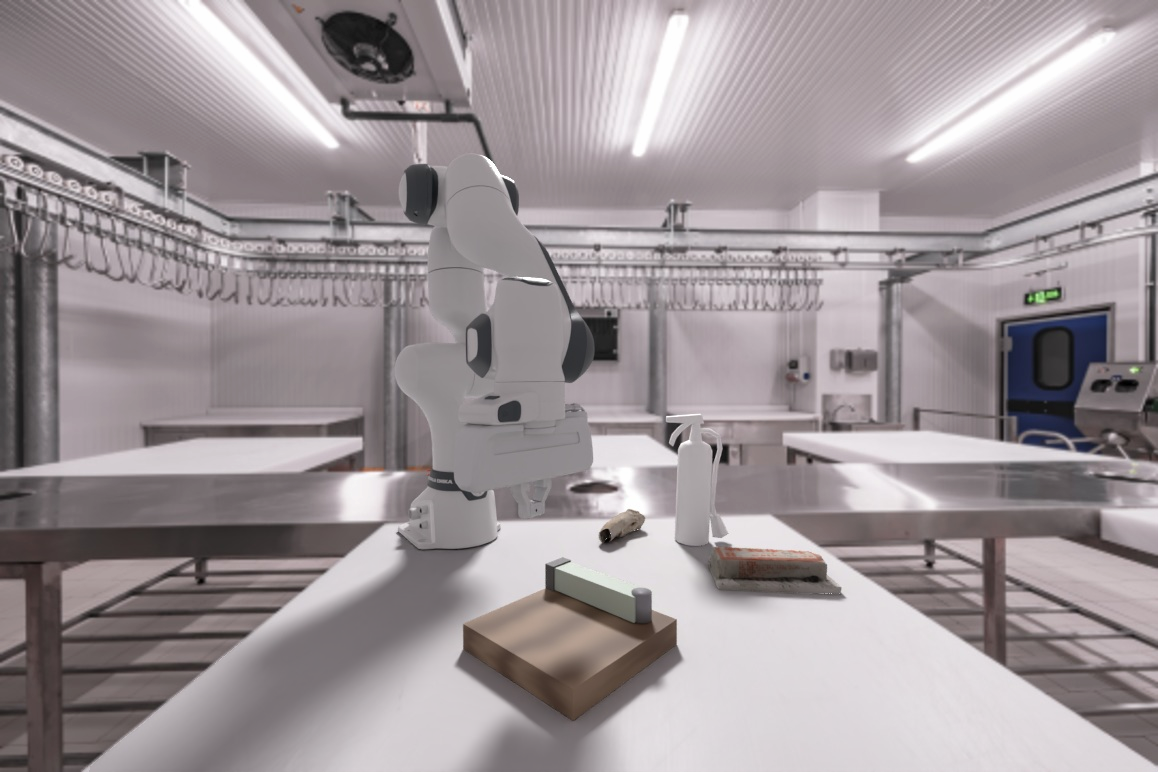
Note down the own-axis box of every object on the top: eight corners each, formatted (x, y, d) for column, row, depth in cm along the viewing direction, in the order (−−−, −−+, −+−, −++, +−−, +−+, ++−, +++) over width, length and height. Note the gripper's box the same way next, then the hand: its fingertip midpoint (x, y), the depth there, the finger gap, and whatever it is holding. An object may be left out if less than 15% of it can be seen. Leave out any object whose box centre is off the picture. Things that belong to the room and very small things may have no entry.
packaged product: (717, 561, 74) (707, 539, 84) (717, 593, 74) (707, 567, 84) (842, 565, 72) (817, 542, 82) (842, 598, 72) (817, 571, 82)
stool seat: (463, 648, 58) (463, 623, 58) (569, 598, 71) (569, 578, 71) (573, 721, 46) (573, 689, 46) (676, 644, 59) (676, 619, 59)
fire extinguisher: (732, 548, 92) (732, 415, 92) (666, 545, 93) (666, 415, 93) (726, 537, 99) (726, 412, 98) (665, 534, 100) (665, 412, 100)
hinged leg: (658, 618, 59) (658, 590, 59) (641, 628, 57) (641, 599, 57) (562, 580, 70) (562, 557, 70) (545, 588, 68) (545, 563, 68)
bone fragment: (621, 525, 107) (621, 504, 107) (647, 531, 103) (647, 509, 103) (586, 543, 96) (586, 519, 96) (614, 550, 92) (615, 525, 92)
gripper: (569, 402, 71) (571, 497, 71) (445, 408, 56) (447, 529, 56) (603, 402, 67) (604, 504, 67) (477, 409, 52) (479, 540, 52)
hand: (531, 516), depth 61 cm, fingers closed
